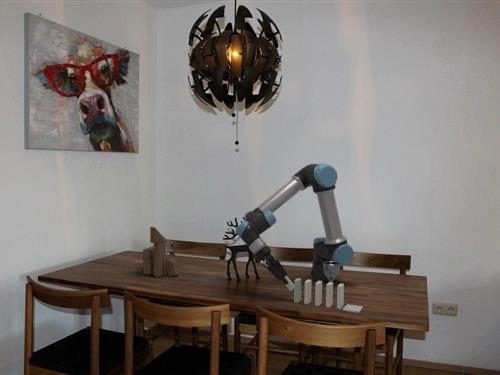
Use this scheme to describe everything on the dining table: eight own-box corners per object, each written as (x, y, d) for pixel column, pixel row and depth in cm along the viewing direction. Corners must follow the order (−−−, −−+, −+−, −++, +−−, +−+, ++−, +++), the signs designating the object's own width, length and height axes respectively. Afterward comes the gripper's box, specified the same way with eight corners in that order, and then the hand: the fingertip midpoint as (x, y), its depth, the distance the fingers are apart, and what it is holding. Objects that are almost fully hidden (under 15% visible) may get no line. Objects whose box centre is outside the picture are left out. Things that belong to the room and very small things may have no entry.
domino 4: (325, 307, 202) (326, 284, 201) (329, 304, 206) (329, 282, 206) (329, 307, 201) (329, 285, 201) (332, 304, 206) (333, 282, 205)
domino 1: (293, 302, 208) (294, 280, 208) (297, 299, 213) (298, 278, 212) (297, 302, 208) (297, 280, 207) (300, 299, 212) (301, 278, 212)
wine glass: (337, 291, 228) (337, 261, 227) (340, 295, 220) (341, 264, 219) (321, 291, 228) (321, 261, 227) (324, 295, 220) (325, 264, 219)
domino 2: (304, 303, 206) (304, 281, 206) (307, 301, 211) (308, 279, 210) (307, 304, 205) (308, 282, 205) (311, 301, 210) (311, 279, 210)
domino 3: (315, 305, 204) (315, 283, 204) (318, 302, 208) (318, 280, 208) (318, 305, 203) (318, 283, 203) (321, 303, 208) (322, 281, 207)
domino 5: (337, 308, 200) (337, 286, 199) (340, 305, 204) (340, 283, 204) (340, 309, 199) (341, 286, 198) (343, 306, 203) (344, 283, 203)
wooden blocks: (171, 280, 247) (171, 228, 246) (137, 277, 253) (138, 226, 251) (189, 270, 270) (189, 223, 269) (158, 268, 276) (158, 221, 275)
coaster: (347, 305, 204) (347, 304, 204) (362, 307, 201) (362, 306, 201) (342, 310, 197) (342, 309, 197) (358, 312, 194) (358, 311, 194)
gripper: (261, 252, 224) (292, 290, 218) (249, 257, 213) (282, 297, 206) (271, 242, 222) (303, 280, 215) (259, 246, 210) (293, 287, 204)
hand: (292, 288), depth 211 cm, fingers closed
